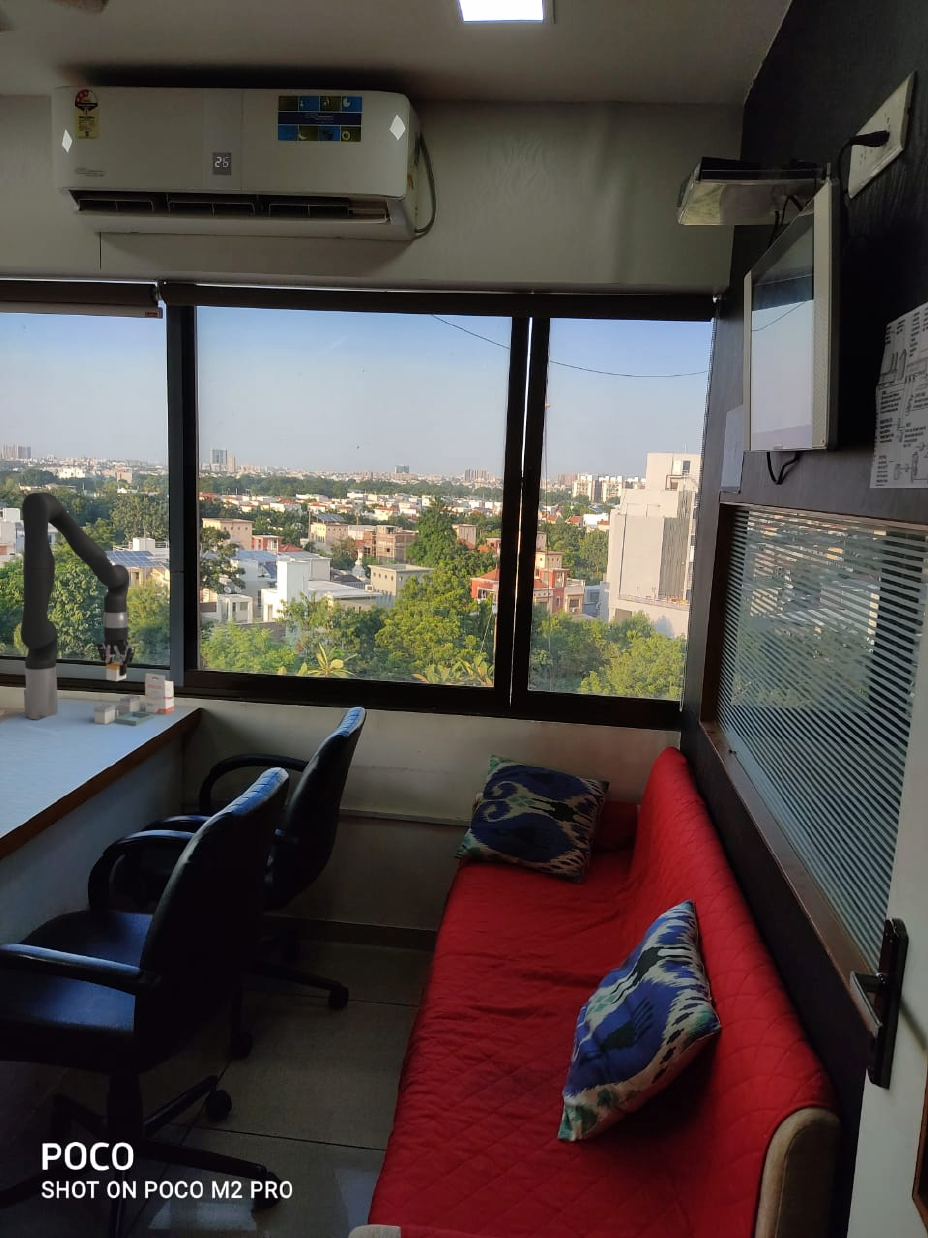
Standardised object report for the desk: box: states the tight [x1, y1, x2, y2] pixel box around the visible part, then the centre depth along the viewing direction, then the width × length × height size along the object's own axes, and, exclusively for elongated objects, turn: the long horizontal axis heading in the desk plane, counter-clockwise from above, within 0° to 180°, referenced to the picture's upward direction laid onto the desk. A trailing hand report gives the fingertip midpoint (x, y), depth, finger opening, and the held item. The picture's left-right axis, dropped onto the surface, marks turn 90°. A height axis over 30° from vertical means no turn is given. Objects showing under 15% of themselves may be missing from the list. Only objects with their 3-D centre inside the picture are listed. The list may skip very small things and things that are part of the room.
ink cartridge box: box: [144, 673, 175, 715], centre depth 290 cm, size 9×5×15 cm, turn 73°
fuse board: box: [89, 694, 144, 726], centre depth 283 cm, size 7×19×6 cm, turn 165°
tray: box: [114, 711, 154, 727], centre depth 280 cm, size 8×9×2 cm
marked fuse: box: [105, 661, 128, 682], centre depth 281 cm, size 4×5×5 cm
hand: (116, 674), depth 281 cm, fingers closed on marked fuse, 4 cm apart
